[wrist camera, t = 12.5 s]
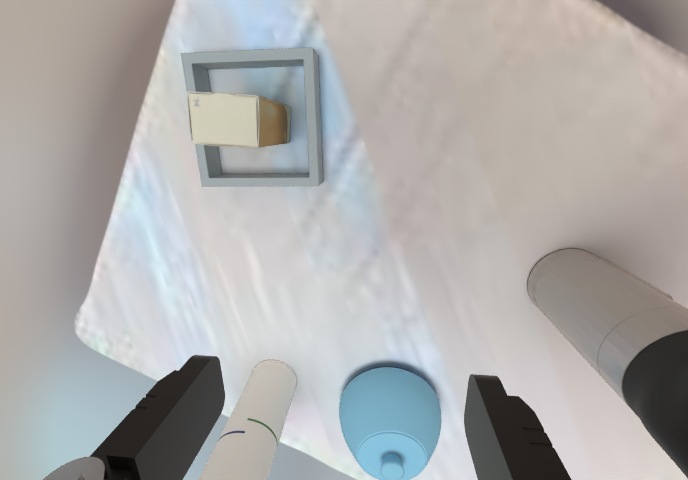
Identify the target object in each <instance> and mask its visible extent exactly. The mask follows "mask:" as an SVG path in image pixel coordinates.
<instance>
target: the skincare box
mask: <svg viewBox="0 0 688 480" xmlns="http://www.w3.org/2000/svg"><path fill="white" fill-rule="evenodd" d="M187 98H188V113H189V124H190V133H191V141H192V143H194V144H201V145H210V146H224V147H247V148H259V147H265V146H271V145H278V144H285V143H289V142H290V106H288V105H285V104H282V103H278V102H275V101H272V100H269V99H266V98H263V97H260V96H257V95H246V94H231V93H212V92H192V91H188V92H187Z"/></svg>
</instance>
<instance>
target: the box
mask: <svg viewBox="0 0 688 480" xmlns="http://www.w3.org/2000/svg"><path fill="white" fill-rule="evenodd" d="M181 58H182V64H183V71H184V77H185V83H186V89H187V92H188V91H192V92H211V91H210V83H209V76H208V69H229V68H255V67H282V66H304V79H305V98H306V118H307V137H308V156H309V174H222V170H221V163H220V156H219V149H218V146H210V145H201V144H195V146H196V152H197V158H198V165H199V171H200V177H201V183H202V187H252V186H319V185H320V184H321V183H322V182H323V164H322V138H321V112H320V86H319V61H318V54H317V53H316V51H315V50H314V49H313V48H290V49H266V50H242V51H219V52H195V53H181Z"/></svg>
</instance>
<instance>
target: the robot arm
mask: <svg viewBox="0 0 688 480" xmlns="http://www.w3.org/2000/svg"><path fill="white" fill-rule="evenodd" d="M527 289H528V294H529V296H530V298H531V300H532V301H533V302H534V304H535V305H536V306H537V307H538V308H539V309H540V310H541V311H542V312H543V314H544V315H545V316H546V317H547V318H548V319H549V320H550V321H551V322H552V324H553V325H554V326H555V327H556V328H557V329H558V330H559V331H560V332H561V333H562V334H563V336H564V337H565V338H566V339H567V340H568V341H569V342H570V343H571V344H572V345H573V346H574V348H575V349H576V350H577V351H578V352H579V353H580V354H581V355H582V356H583V357H584V358H585V359H586V361H587V362H588V363H589V364H590V365H591V366H592V367H593V368H594V369H595V370H596V371H597V373H598V374H599V375H600V376H601V377H602V378H603V379H604V380H605V381H606V382H607V383H608V384H609V385H610V386H611V388H612V389H613V390H614V391H615V392H616V393H617V394H618V395H619V396H620V397H621V398H622V400H623V401H624V402H625V403H626V404H627V405H628V406H629V407H630V408H631V409H632V410H633V411H634V412H635V414H636V415H637V416H638V417H639V418H640V419H641V421H642V423H643V425H644V426H645V428H646V429H647V431H648V432H649V433H650V435H651V436H652V437H653V438H654V439H655V441H656V442H657V443H658V444H659V445H660V446H661V447H662V449H663V450H664V451H665V452H666V453H667V454H668V455H669V457H670V458H671V459H672V460H673V461H674V462H675V463H676V465H677V466H678V467H679V468H680V469H681V471H682V472H683V473H684V474H685V475H686V477H687V478H688V309H687V308H685V307H683V306H681V305H680V304H678V303H676V302H674V301H673V299H672V297H671V296H670V295H668V294H666V293H665V292H663V291H661V290H659V289H657V288H656V287H654V286H652V285H650V284H649V283H647V282H645V281H643V280H641V279H640V278H638V277H636V276H634V275H633V274H631V273H629V272H627V271H625V270H624V269H622V268H620V267H618V266H616V265H615V264H613V263H611V262H609V261H607V260H602V259H600V258H598V257H596V256H595V255H593V254H591V253H589V252H587V251H585V250H580V249H563V250H559V251H556V252H553V253H551V254H549V255H547V256H546V257H544V258H543V259H542V260H540V261H539V262H538V263H537V264H536V266H535V267H534V268H533V270H532V271H531V273H530V275H529V279H528V285H527ZM224 401H225V391H224V385H223V379H222V372H221V366H220V361H219V359H218V357H216V356H201V355H194V356H192V357H191V358H190V359H189V360H188V361H187V362H186V363H185V364H184V365H183V367H182V368H181V369H180V370H179V371H176V370H175V371H173V372H172V373H170V374H169V375H167V376H166V377H164V378H163V379H161V380H160V381H158V382H157V383H156V385H155V386H154V387H153V388H152V389H151V390H150V391H149V392H148V394H146V397H145V398H143V399H142V400H141V401H140V402H139V403H138V404H137V405H136V408H135V409H133V410H132V411H131V412H130V413H129V414H128V415H127V416H126V417H125V418H124V420H123V421H122V422H121V423H120V424H119V425H118V426H117V427H116V428H115V429H114V431H113V432H112V433H111V434H110V435H109V436H108V437H107V438H106V439H105V441H104V442H103V443H102V444H101V445H100V446H99V447H98V448H97V449H96V450H95V451H94V453H93V454H92V455H91V456H90V457H83V458H79V459H76V460H73V461H71V462H69V463H66V464H65V465H63V466H61V467H59V468H58V469H56V470H55V471H53V472H52V473H50V474H49V475H48V476H47V477H45V478H44V479H43V480H183V478H184V476H185V474H186V473H187V471H188V469H189V468H190V466H191V464H192V462H193V461H194V459H195V457H196V456H197V454H198V452H199V450H200V449H201V447H202V445H203V443H204V442H205V440H206V438H207V437H208V435H209V433H210V431H211V430H212V428H213V426H214V425H215V423H216V421H217V420H218V417H219V416H220V414H221V412H222V409H223V406H224ZM464 424H465V433H466V437H467V441H468V445H469V449H470V452H471V456H472V460H473V463H474V467H475V470H476V474H477V478H478V480H571V478H570V476H569V475H568V473H567V471H566V469H565V467H564V465H563V463H562V462H561V460H560V458H559V456H558V454H557V452H556V451H555V449H554V448H553V447H552V443H551V441H550V440H549V438H548V436H547V434H546V433H544V429H543V427H542V425H541V423H540V421H539V419H538V418H537V416H536V414H535V412H534V411H533V410H532V409H531V408H530V407H529V406H528V405H527V404H526V403H525V402H524V401H523V400H522V399H521V398H520V397H519V396H507V394H506V391H505V389H504V387H503V385H502V383H501V381H500V379H499V378H498V377H497V376H488V375H473V374H471V375H470V377H469V382H468V390H467V397H466V405H465V413H464Z"/></svg>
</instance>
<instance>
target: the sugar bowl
mask: <svg viewBox="0 0 688 480" xmlns="http://www.w3.org/2000/svg"><path fill="white" fill-rule="evenodd" d="M339 415H340V423H341V429H342V432H343V436H344V438H345V441H346V443H347V445H348V447H349V449H350V451H351V453H352V454H353V456H354V458H355V459H356V461H357V462H358V464H359V465H360V466H361V468H362V469H363V470H364V471H365V472H366V473H368V474H369V475H371V476H372V477H374V478H377V479H379V480H409V479H412V478H413V477H415V476H417V475H418V474H420V473H421V472H422V470H423V469H424V468H425V466H426V465H427V463H428V462H429V460H430V458H431V456H432V454H433V452H434V450H435V448H436V445H437V442H438V439H439V435H440V429H441V409H440V404H439V400H438V397H437V395H436V393H435V392H434V390H433V389H432V388H431V386H430V385H429V384H428V383H427V382H426V381H425V380H423V379H422V378H421V377H419V376H417V375H415V374H414V373H411V372H409V371H406V370H403V369H399V368H392V367H382V368H375V369H372V370H369V371H366V372H364V373H362V374H360V375H358V376H357V377H355V378H354V379H353V380H352V381H351V382H350V383H349V384H348V385H347V387H346V388H345V390H344V391H343V393H342V396H341V399H340V407H339Z"/></svg>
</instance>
